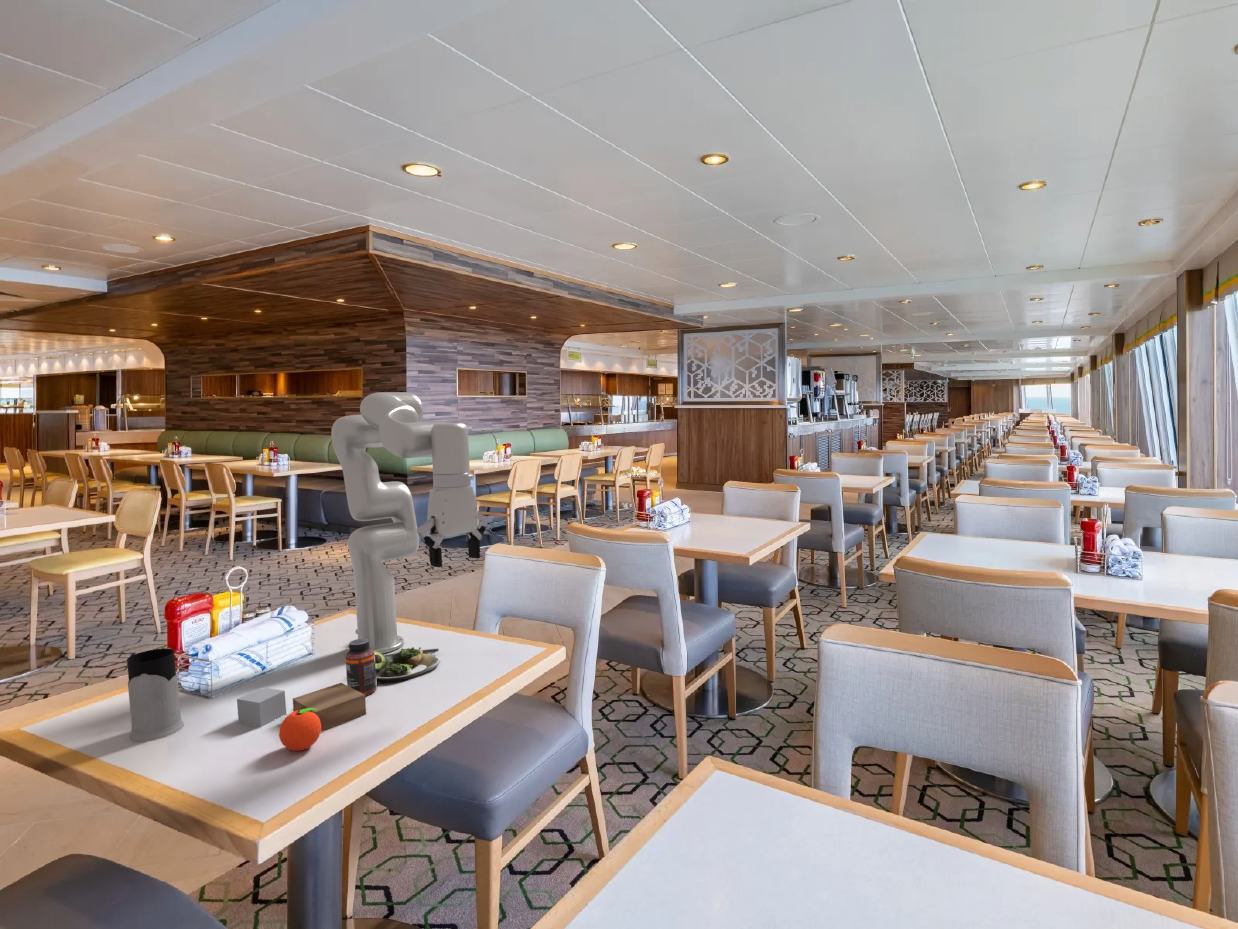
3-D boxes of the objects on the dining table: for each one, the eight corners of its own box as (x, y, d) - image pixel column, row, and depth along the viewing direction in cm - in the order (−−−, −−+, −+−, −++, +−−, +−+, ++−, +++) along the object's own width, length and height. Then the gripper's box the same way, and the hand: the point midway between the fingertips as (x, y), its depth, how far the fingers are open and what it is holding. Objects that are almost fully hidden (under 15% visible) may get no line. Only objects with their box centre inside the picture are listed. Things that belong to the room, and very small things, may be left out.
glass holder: (121, 744, 126) (114, 666, 125) (151, 712, 140) (145, 641, 139) (174, 737, 129) (168, 660, 127) (199, 706, 142) (193, 636, 141)
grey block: (238, 723, 134) (236, 699, 134) (264, 710, 140) (262, 687, 139) (261, 727, 132) (259, 703, 131) (286, 714, 137) (284, 690, 137)
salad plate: (423, 648, 175) (422, 630, 175) (459, 665, 162) (458, 646, 162) (348, 669, 162) (347, 650, 161) (381, 690, 149) (380, 670, 148)
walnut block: (293, 718, 135) (292, 698, 135) (342, 701, 143) (341, 682, 142) (316, 732, 129) (315, 712, 128) (366, 714, 136) (365, 694, 136)
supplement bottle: (381, 686, 150) (378, 636, 149) (369, 698, 144) (366, 646, 143) (355, 686, 150) (352, 636, 149) (342, 697, 144) (339, 646, 144)
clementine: (316, 733, 128) (314, 697, 128) (335, 744, 124) (332, 706, 124) (273, 750, 122) (270, 712, 122) (291, 762, 118) (288, 722, 117)
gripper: (474, 477, 151) (477, 552, 153) (405, 485, 138) (409, 567, 140) (495, 478, 147) (499, 556, 148) (426, 486, 133) (431, 572, 135)
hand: (455, 562), depth 144 cm, fingers open, 9 cm apart
